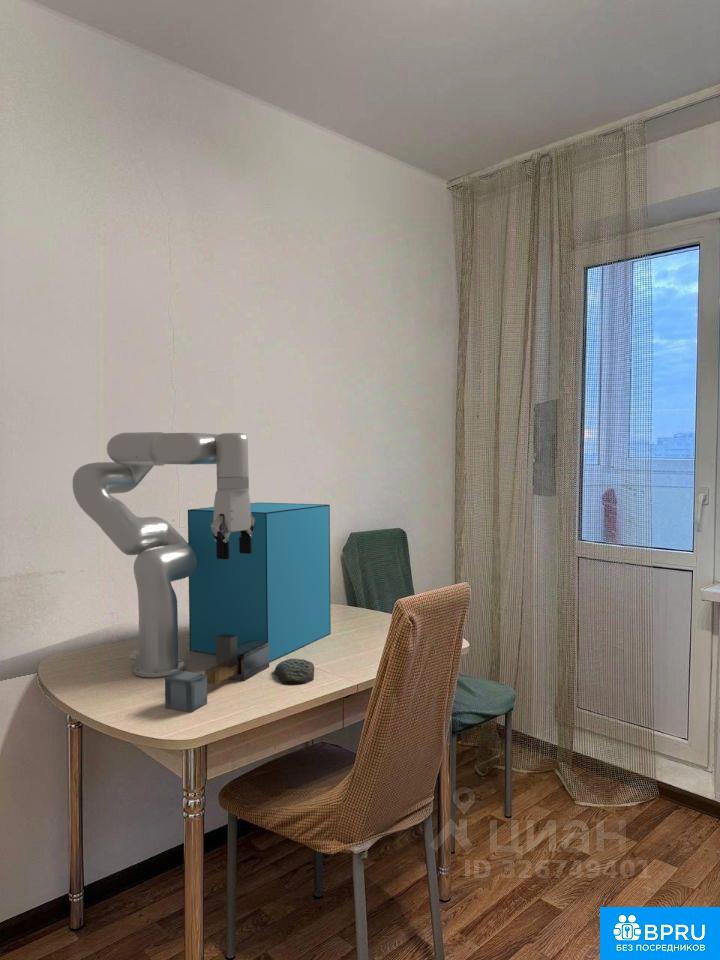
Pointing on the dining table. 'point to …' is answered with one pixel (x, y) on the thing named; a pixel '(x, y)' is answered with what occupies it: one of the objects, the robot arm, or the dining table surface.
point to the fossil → (295, 671)
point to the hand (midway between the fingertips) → (234, 556)
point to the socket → (186, 691)
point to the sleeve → (252, 659)
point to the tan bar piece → (224, 659)
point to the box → (262, 580)
